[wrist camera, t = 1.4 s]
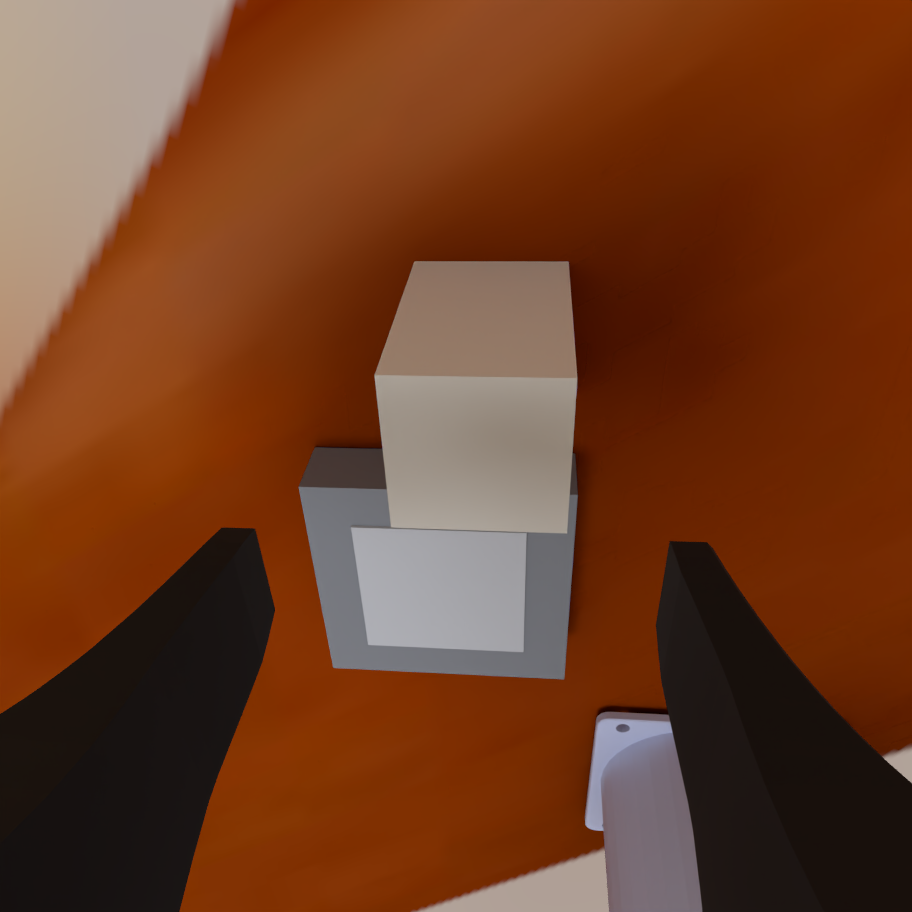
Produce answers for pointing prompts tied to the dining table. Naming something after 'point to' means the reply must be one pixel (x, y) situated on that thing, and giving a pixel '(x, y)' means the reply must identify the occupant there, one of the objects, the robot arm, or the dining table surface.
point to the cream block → (480, 397)
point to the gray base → (431, 581)
